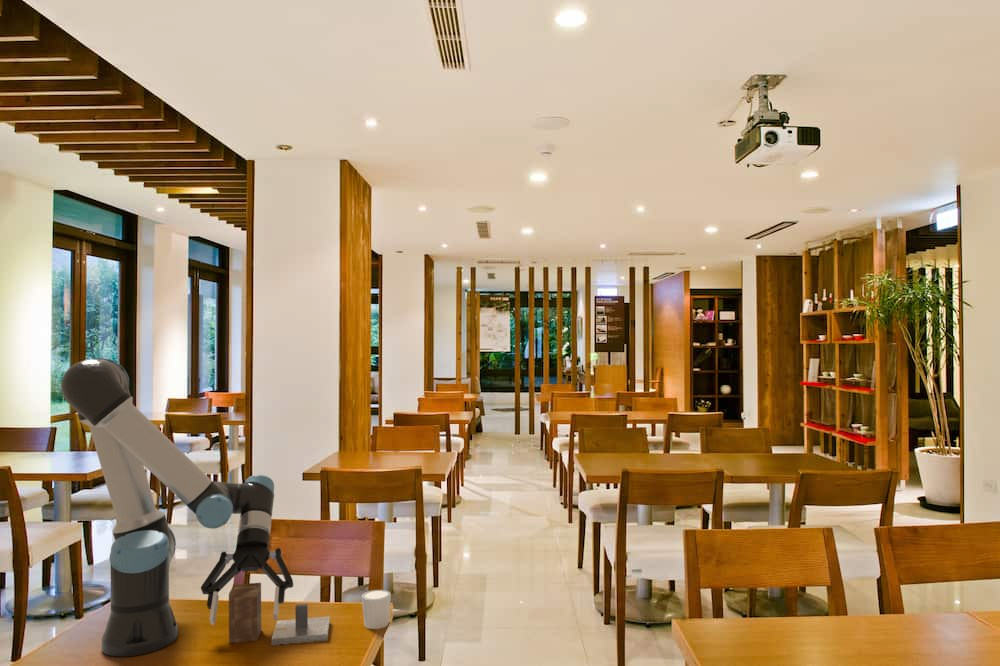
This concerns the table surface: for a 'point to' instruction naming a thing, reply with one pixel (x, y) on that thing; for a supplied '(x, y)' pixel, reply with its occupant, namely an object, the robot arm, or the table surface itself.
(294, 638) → the grey stand base
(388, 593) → the white cup
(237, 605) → the brown slotted box
